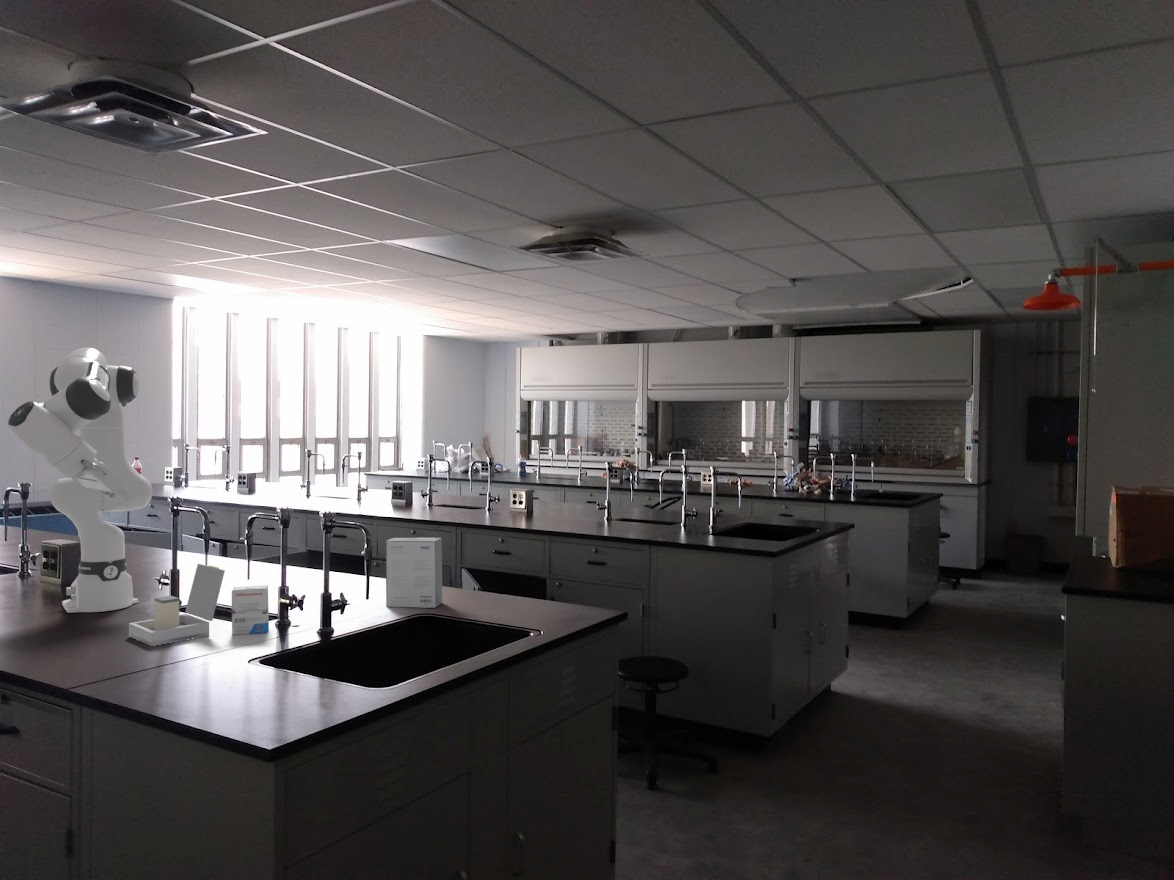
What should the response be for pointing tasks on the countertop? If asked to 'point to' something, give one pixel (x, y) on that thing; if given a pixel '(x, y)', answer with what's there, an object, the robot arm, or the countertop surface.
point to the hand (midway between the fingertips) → (120, 498)
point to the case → (169, 631)
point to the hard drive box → (414, 572)
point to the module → (166, 612)
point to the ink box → (250, 610)
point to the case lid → (205, 591)
